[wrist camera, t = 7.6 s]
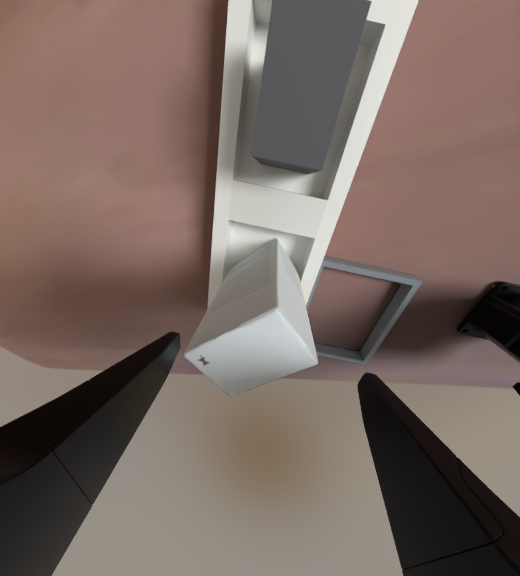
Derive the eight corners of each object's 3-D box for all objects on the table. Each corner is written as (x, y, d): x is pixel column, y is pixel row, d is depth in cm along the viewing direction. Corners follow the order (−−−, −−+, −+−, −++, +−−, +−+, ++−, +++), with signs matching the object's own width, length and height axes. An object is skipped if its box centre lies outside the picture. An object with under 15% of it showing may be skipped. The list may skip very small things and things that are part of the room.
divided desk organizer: (398, 20, 12) (423, -15, 10) (294, 319, 24) (295, 333, 22) (241, -15, 12) (232, -59, 10) (213, 302, 24) (206, 315, 22)
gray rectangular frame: (413, 274, 20) (423, 281, 18) (361, 356, 26) (366, 365, 24) (317, 254, 20) (319, 259, 18) (287, 340, 26) (287, 349, 24)
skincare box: (253, 297, 22) (228, 400, 12) (229, 267, 21) (177, 355, 10) (300, 270, 20) (321, 367, 10) (278, 235, 19) (275, 305, 8)
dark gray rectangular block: (335, 73, 13) (371, 1, 8) (308, 174, 16) (321, 170, 11) (277, 60, 13) (275, -21, 8) (260, 164, 16) (250, 155, 11)
